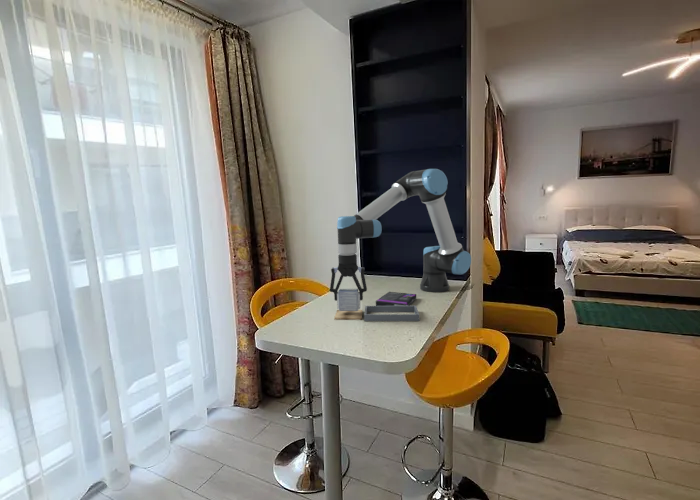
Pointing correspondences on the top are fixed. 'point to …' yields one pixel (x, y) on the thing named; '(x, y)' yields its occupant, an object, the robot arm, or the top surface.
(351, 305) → the medicine box
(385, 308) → the bin
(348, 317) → the pad
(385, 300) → the box
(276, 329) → the top surface
